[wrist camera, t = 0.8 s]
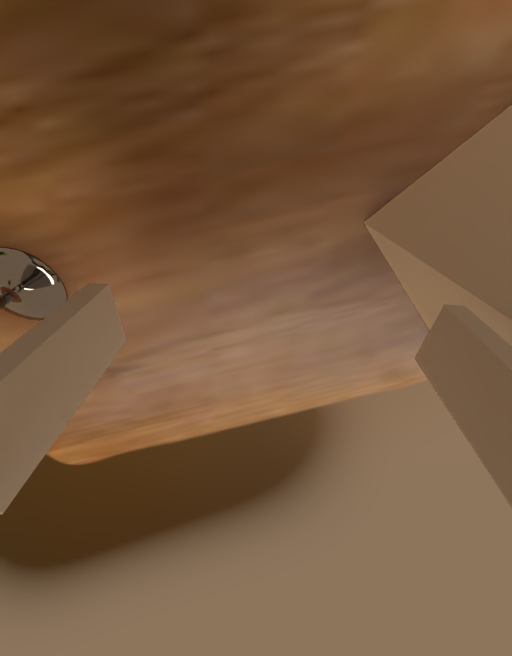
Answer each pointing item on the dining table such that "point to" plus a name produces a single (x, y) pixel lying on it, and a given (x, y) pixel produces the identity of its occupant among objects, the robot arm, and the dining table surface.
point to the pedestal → (456, 231)
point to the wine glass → (28, 285)
